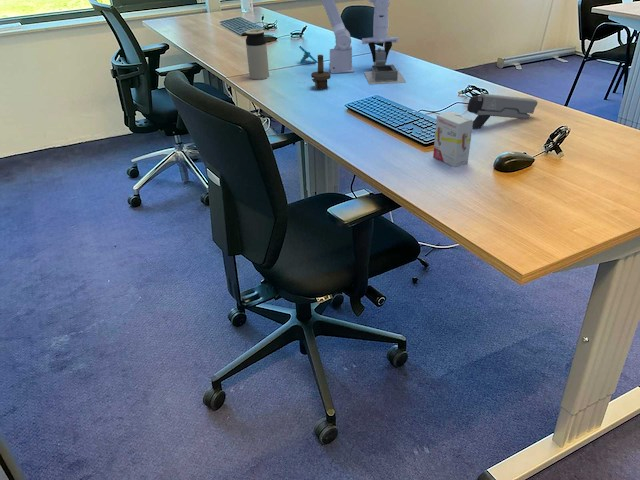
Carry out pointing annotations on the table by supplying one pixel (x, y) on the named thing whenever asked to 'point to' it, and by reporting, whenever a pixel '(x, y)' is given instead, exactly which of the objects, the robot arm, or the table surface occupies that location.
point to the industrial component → (320, 75)
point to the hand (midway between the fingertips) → (379, 61)
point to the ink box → (452, 138)
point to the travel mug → (257, 54)
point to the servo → (380, 57)
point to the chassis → (384, 75)
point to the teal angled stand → (306, 55)
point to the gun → (499, 107)
